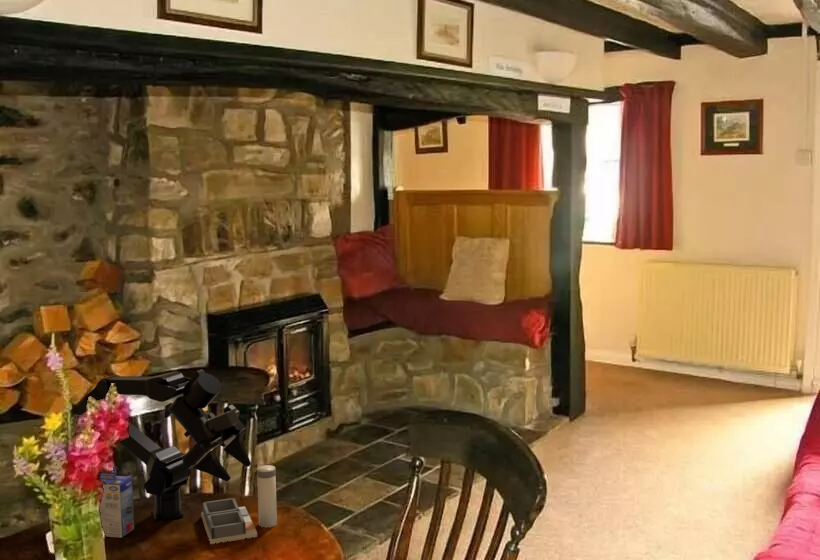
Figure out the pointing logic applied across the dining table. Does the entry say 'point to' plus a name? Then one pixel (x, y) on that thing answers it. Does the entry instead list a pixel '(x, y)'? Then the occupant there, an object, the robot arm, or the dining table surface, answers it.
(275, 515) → the plug
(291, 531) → the dining table surface
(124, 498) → the ink cartridge box
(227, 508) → the socket board
